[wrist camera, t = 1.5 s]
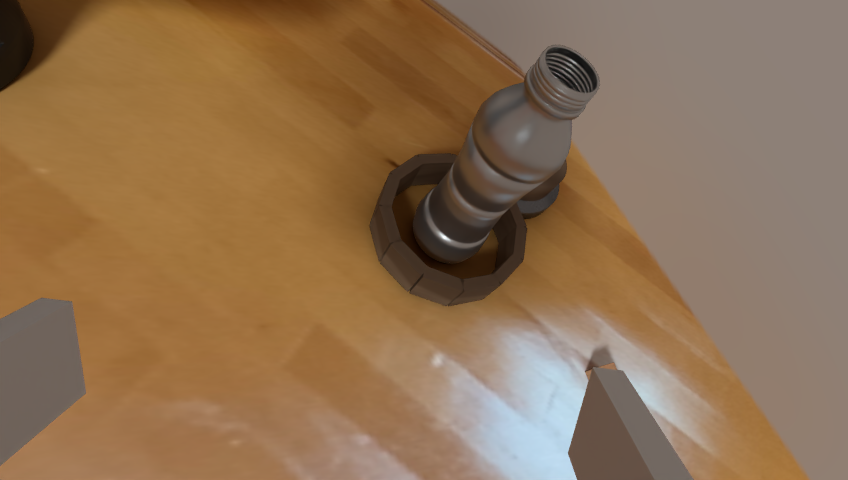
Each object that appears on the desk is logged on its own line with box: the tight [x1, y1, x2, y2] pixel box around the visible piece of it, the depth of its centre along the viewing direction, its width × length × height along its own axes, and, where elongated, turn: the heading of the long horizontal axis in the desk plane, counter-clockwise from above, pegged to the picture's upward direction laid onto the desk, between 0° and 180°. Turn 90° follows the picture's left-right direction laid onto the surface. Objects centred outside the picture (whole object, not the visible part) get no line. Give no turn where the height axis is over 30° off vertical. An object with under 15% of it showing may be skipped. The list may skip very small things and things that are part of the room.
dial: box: [370, 153, 567, 306], centre depth 41 cm, size 22×13×4 cm, turn 137°
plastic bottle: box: [413, 45, 600, 264], centre depth 32 cm, size 6×7×20 cm
